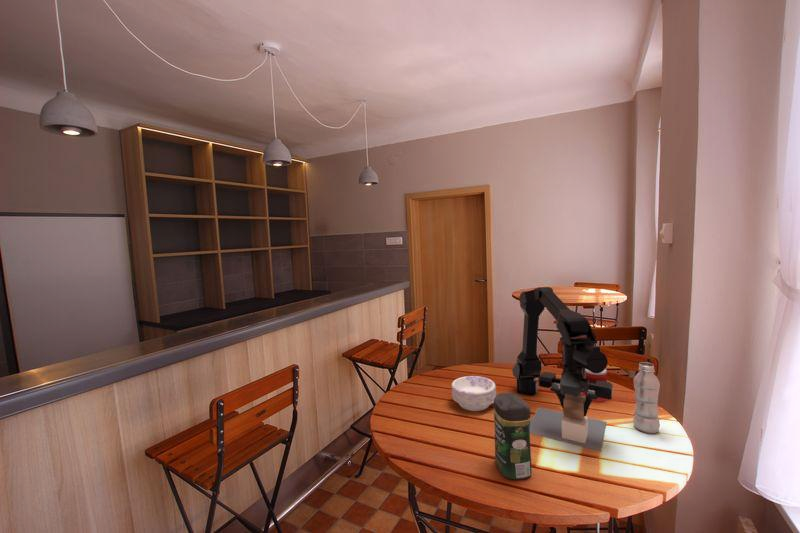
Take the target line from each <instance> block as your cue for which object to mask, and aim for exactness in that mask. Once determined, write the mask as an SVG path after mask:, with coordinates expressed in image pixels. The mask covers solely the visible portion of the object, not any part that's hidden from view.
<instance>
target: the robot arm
mask: <svg viewBox="0 0 800 533" xmlns="http://www.w3.org/2000/svg"><path fill="white" fill-rule="evenodd" d="M518 300H519V306H520V308H521V310H522V312H523V313H524V318H523V336H522V349H521V351H520V353H519V354H518V355H517V357H516V362H515V364H514V366H513V368H512V370H511V371H512V376H513V377H514V378H516V391H515V393H517V394H520V395H525V396H529V397H534V396H535V395H536V394H537V393H538V387H540V388H545V389H549V390H550V391H551V392H553V393H554V394H555V395H556V396H557V398H558V400H559V404H560V406H561V408H562V411H563V412H564V401H563V399H564V397H565V395H566V394H569V395H573V396H576V397H578V396H581V393H582V394H583V393H584V392H587V394H586V400H585V407H584V416H586V417H587V413H588V411H589V408H590V405H591V404H592V403H593V402H592V401H593V399H596V400H597V399H598V398H604V399H607V400H612V399H613V393H614V385H613V384H612V383H611V382H609V381H607V382H604V381H598V380H597V382H596V384H592V383H589V380H588V379H586V369H587V370H589V371H591V372H593V373H600V372H602V371H604V370H605V369H607V366H608V363H609V362H608V358H607V356H606V354H605V353H604V352H602V351H601V347H600V346H599V345H596V344H598V340H597V335H596V334H595V332H594V331H593V328H592V326H591V324H590V322H589V320H588V319H587V318H586V317H585V316H584V315H582V314H581V313H579V312H577V311H574V310H572V309H570V308H569V307H568V306H567V305H566V303H564V301H562V299H561V298H559V296H558V295H557V294H556V292H554V289H553V288H552V287H550V286H542V287H539V286H538V287H536V288H534V289H532V290H526V291H525V290H523V291H522V292H521V293H520V295H519V297H518ZM545 309H546V310H547V311H548V312H549V313H550V314H551V316H552V317H553V318H554V320H555V321H556V329H557V330H558V332H559V334H560V336H561V337H559V341H560V342H562V354H563V355H562V363H563V364H562V373H561V375H560V376H561V378H560V377H557V374H556V373H555V372H554V373H553V372H547V371H543V372H541V371H542V363H543V362H542V360H541V358H540V356H538V354H537V350H538V349H537V348H538V334H539V333H538V332H539V319H540V316H541V315H542V313H543V312H544V311H545ZM537 379H538V380H537Z"/></svg>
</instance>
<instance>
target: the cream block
mask: <svg viewBox="0 0 800 533" xmlns="http://www.w3.org/2000/svg"><path fill="white" fill-rule="evenodd" d="M588 418H589V416H587V415H586V416H585V417H584V420H583V421H581V420H577V419H573V418H568V417H564V416H563V419H562V438H565V439H569V440H573V441H577V442H581V443H586V439H587V435H588Z"/></svg>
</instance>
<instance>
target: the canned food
mask: <svg viewBox="0 0 800 533" xmlns="http://www.w3.org/2000/svg"><path fill="white" fill-rule="evenodd" d="M586 379H588V380H589V383H592V384H596V382H597V380H598V381H604V382H608V372H607V368H605V370H604V371H602V372H600V373H593V372H591V371H589V370H587V369H586ZM586 394H587V392H584V393H583V392H582V396H585V397H586ZM607 400H608V399H604V398H598V399H597V400H596V399H593V401H592V402H591V403H593V402H594V403H604V402H607Z"/></svg>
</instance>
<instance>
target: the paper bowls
mask: <svg viewBox="0 0 800 533" xmlns="http://www.w3.org/2000/svg"><path fill="white" fill-rule="evenodd" d="M496 387H497V386H496V383H495V382H494V381H493V380H492V379H489V378H487V377H484V376H477V375H469V376H468V375H466V376H461V377H458V378H456V379H454V380H453V381H452V383H451V396H452V400H453V401H454V402H456V403H457V404H458V405H459V406H460V407H461V408H462V409H464V410H466V411H471V412H480V411H484V410H486V409H488V408H489V407H490V405H492V404H494V398H495V397H496V396H497V388H496Z"/></svg>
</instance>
